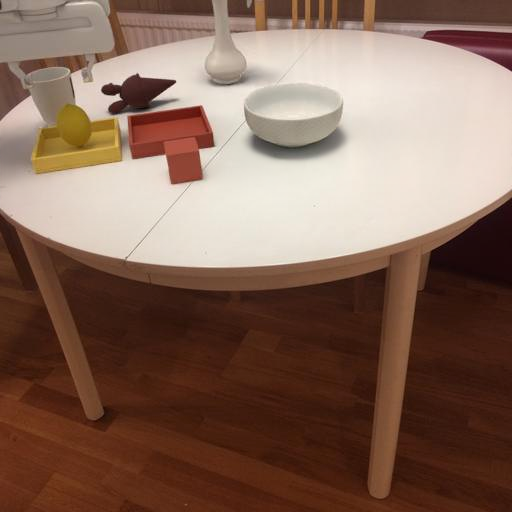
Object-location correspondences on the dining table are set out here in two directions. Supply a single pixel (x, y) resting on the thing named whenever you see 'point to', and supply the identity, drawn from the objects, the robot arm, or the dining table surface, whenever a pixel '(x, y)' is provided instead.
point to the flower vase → (224, 49)
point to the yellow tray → (77, 148)
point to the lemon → (74, 125)
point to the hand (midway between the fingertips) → (59, 84)
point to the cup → (52, 92)
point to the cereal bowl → (293, 113)
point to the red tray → (167, 130)
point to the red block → (183, 160)
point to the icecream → (136, 92)
